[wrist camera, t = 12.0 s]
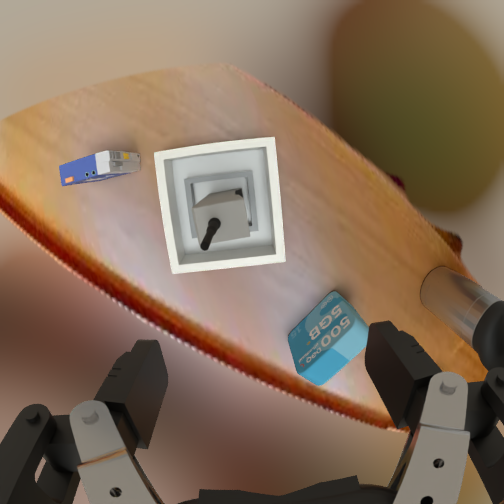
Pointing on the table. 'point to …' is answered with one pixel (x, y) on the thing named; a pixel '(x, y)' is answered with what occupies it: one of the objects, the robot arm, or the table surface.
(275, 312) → the table surface
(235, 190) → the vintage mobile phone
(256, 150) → the box
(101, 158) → the walkman
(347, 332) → the data package
